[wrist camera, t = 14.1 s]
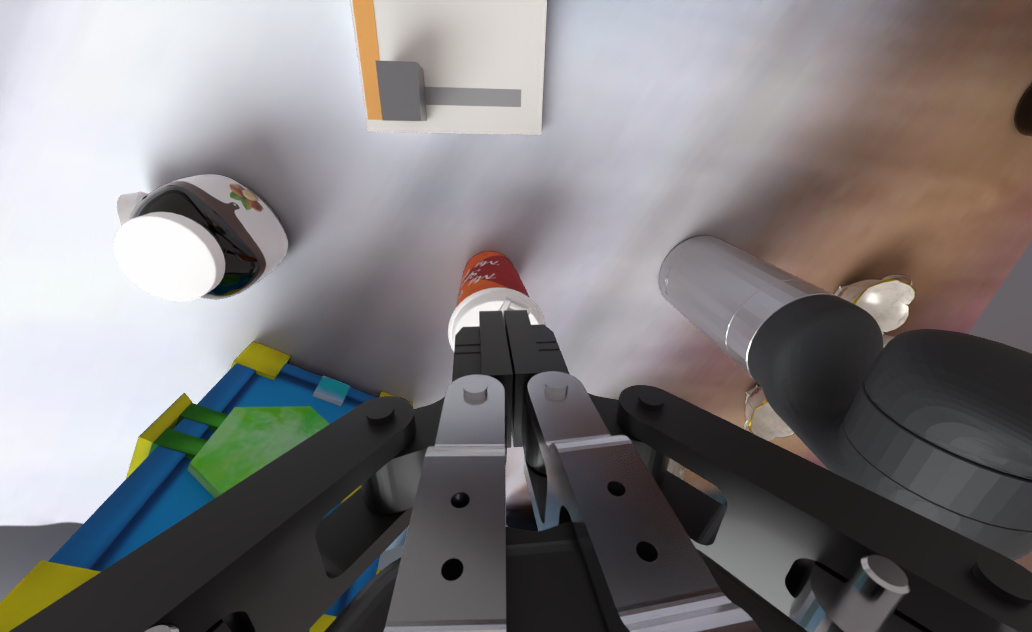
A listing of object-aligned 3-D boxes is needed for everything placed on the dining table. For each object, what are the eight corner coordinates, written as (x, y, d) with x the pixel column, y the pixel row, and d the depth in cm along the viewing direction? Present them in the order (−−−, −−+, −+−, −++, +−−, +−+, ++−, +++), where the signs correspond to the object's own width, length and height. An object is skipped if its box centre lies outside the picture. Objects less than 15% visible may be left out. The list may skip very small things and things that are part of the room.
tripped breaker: (423, 69, 34) (416, 61, 30) (427, 120, 36) (421, 121, 32) (387, 68, 34) (375, 60, 29) (393, 120, 36) (382, 120, 31)
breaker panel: (546, -82, 32) (551, -94, 31) (537, 134, 39) (541, 134, 38) (343, -97, 31) (335, -110, 29) (372, 131, 38) (367, 131, 36)
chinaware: (830, 244, 50) (967, 290, 35) (930, 288, 53) (1097, 349, 38) (709, 410, 61) (774, 501, 46) (798, 440, 64) (887, 535, 49)
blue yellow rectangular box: (249, 322, 45) (-68, 618, 18) (434, 396, 52) (398, 685, 26) (215, 411, 50) (-77, 749, 23) (389, 467, 57) (319, 774, 30)
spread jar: (309, 243, 42) (257, 285, 32) (231, 299, 44) (157, 355, 33) (212, 138, 37) (112, 146, 26) (128, 206, 39) (3, 238, 28)
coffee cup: (472, 228, 43) (474, 277, 30) (537, 260, 45) (566, 319, 32) (441, 292, 46) (430, 363, 33) (504, 319, 48) (517, 395, 35)
